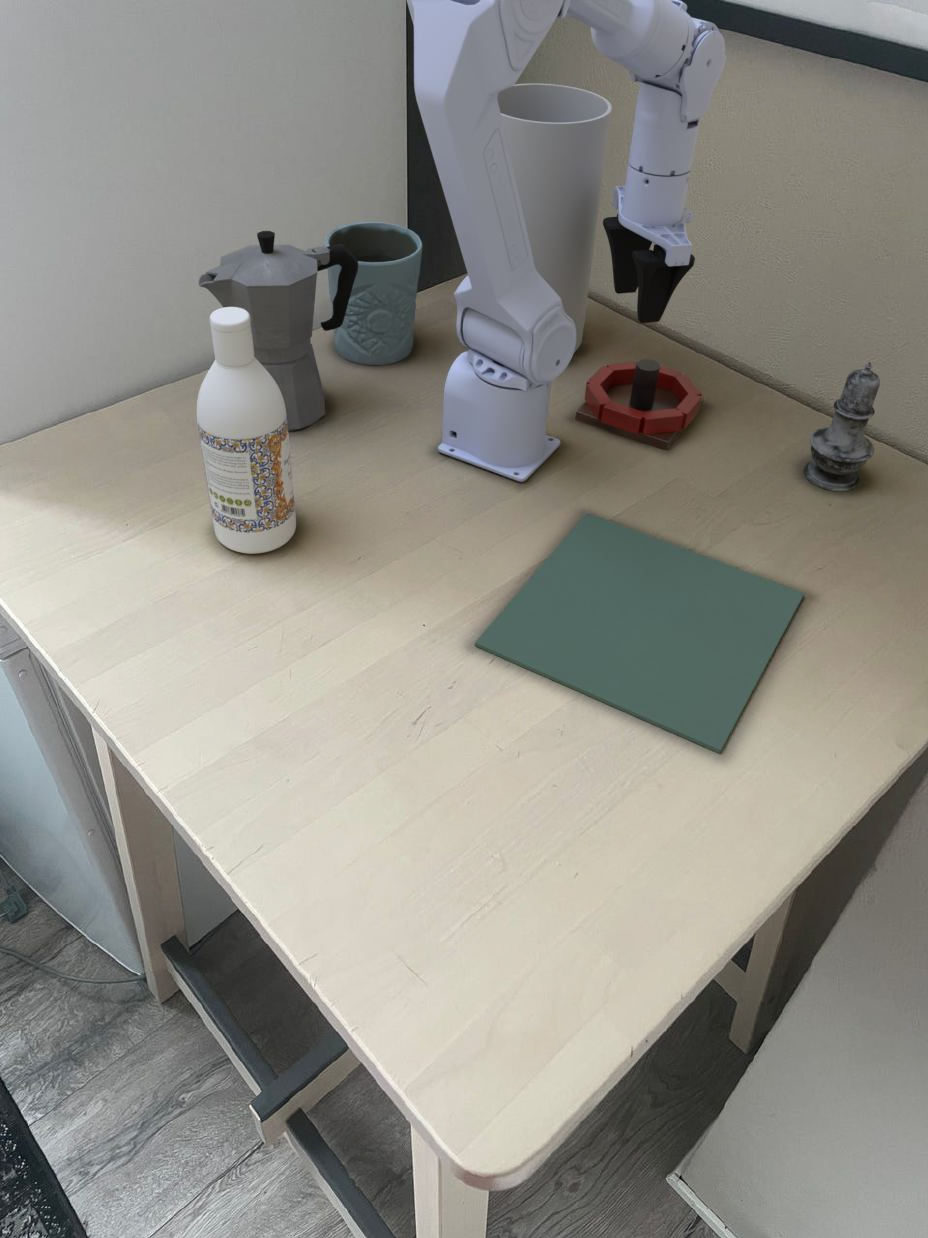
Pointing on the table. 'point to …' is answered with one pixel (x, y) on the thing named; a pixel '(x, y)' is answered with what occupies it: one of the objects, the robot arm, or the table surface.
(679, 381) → the ring
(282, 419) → the bath foam
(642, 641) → the mat
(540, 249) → the cylinder vase
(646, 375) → the ring holder
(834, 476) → the salt shaker
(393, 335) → the teal embossed mug
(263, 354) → the coffeepot
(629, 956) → the table surface
